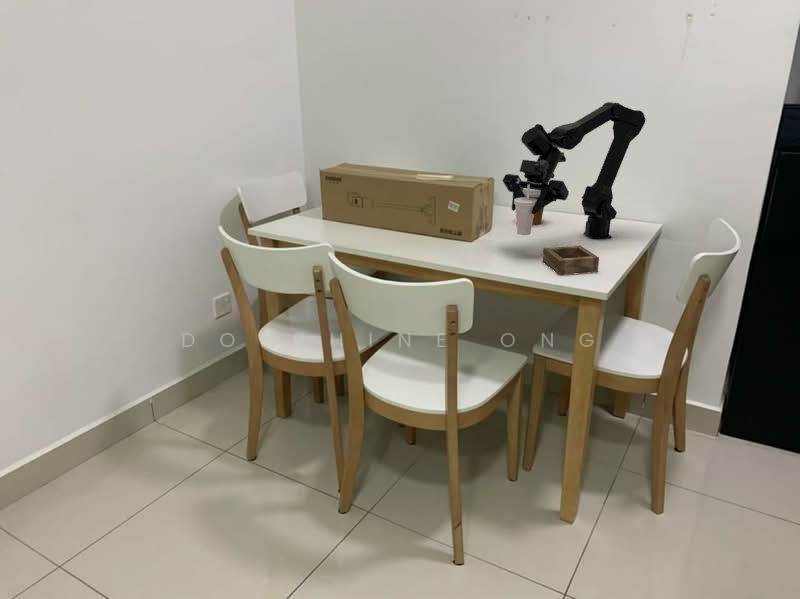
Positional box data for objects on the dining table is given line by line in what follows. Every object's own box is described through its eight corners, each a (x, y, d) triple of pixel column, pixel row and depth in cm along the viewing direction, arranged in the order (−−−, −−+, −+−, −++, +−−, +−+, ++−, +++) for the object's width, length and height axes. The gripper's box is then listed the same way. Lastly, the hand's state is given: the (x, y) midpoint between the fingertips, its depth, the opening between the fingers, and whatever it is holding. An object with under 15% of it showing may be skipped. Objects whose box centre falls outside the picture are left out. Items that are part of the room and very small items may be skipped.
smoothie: (535, 237, 170) (538, 187, 165) (512, 236, 171) (514, 186, 166) (535, 230, 176) (538, 182, 170) (512, 229, 177) (515, 181, 172)
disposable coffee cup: (542, 218, 213) (545, 184, 208) (548, 226, 204) (550, 190, 200) (515, 219, 213) (517, 185, 209) (519, 226, 204) (521, 191, 200)
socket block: (579, 258, 173) (580, 245, 171) (597, 271, 163) (599, 257, 161) (542, 261, 171) (543, 248, 169) (558, 275, 161) (560, 260, 159)
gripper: (507, 145, 173) (483, 190, 170) (567, 151, 161) (542, 200, 158) (520, 168, 181) (498, 212, 178) (578, 176, 170) (555, 223, 167)
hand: (522, 211), depth 170 cm, fingers closed on smoothie, 6 cm apart
